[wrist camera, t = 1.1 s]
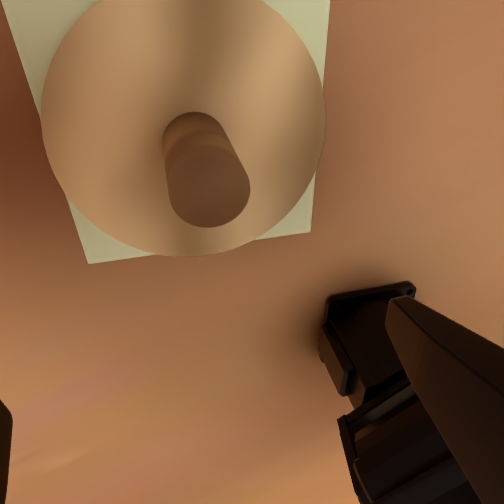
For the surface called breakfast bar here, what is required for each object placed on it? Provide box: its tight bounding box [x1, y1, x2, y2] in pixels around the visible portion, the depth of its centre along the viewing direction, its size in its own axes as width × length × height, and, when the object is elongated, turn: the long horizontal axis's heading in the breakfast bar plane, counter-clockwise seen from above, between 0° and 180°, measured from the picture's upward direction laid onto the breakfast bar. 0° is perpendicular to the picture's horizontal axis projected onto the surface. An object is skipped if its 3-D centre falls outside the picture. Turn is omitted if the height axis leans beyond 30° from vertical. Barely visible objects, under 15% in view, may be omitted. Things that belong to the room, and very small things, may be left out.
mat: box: [1, 0, 330, 264], centre depth 18 cm, size 12×12×1 cm
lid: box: [41, 0, 326, 257], centre depth 16 cm, size 12×12×5 cm
